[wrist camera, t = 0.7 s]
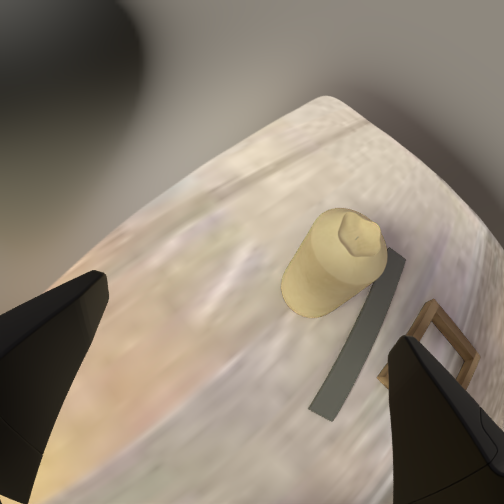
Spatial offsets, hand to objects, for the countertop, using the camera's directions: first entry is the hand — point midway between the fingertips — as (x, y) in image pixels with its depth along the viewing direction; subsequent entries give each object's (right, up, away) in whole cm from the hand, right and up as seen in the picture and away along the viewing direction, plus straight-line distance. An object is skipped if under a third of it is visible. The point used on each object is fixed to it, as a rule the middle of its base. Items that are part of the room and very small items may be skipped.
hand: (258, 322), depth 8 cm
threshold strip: (+10, -5, +16) cm, 20 cm away
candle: (+5, -1, +17) cm, 18 cm away
